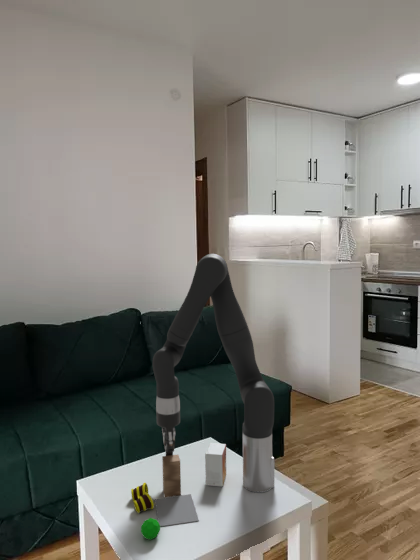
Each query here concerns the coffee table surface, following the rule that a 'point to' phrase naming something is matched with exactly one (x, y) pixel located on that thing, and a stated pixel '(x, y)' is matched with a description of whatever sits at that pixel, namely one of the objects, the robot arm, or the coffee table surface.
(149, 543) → the coffee table surface
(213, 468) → the small box
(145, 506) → the opera glasses
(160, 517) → the mat
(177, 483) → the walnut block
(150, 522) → the polyhedron
